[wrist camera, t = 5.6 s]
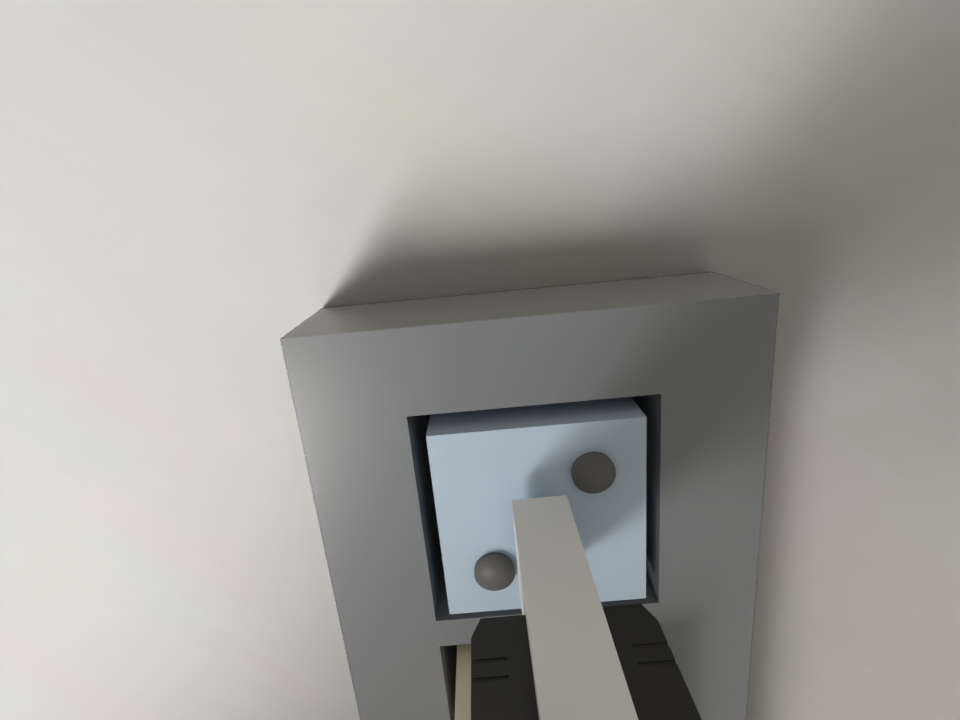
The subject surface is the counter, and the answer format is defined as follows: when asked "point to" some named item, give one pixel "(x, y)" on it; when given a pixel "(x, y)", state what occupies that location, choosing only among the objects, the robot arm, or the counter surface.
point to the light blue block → (538, 493)
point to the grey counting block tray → (525, 382)
